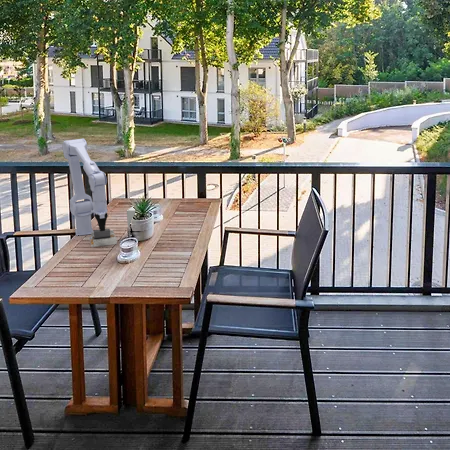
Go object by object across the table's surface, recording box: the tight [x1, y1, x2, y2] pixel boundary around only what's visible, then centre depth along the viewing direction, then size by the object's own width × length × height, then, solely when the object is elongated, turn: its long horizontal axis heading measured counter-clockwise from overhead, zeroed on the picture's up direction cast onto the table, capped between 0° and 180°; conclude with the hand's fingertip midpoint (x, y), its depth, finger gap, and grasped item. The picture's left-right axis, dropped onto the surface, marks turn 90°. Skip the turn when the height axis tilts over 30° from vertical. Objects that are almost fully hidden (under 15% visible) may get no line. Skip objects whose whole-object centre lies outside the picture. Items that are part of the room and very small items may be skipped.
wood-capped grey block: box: [93, 228, 111, 239], centre depth 285 cm, size 3×7×5 cm, turn 106°
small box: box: [126, 205, 135, 228], centre depth 303 cm, size 8×6×10 cm
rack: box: [88, 229, 118, 248], centre depth 288 cm, size 13×11×3 cm
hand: (102, 230), depth 284 cm, fingers closed
